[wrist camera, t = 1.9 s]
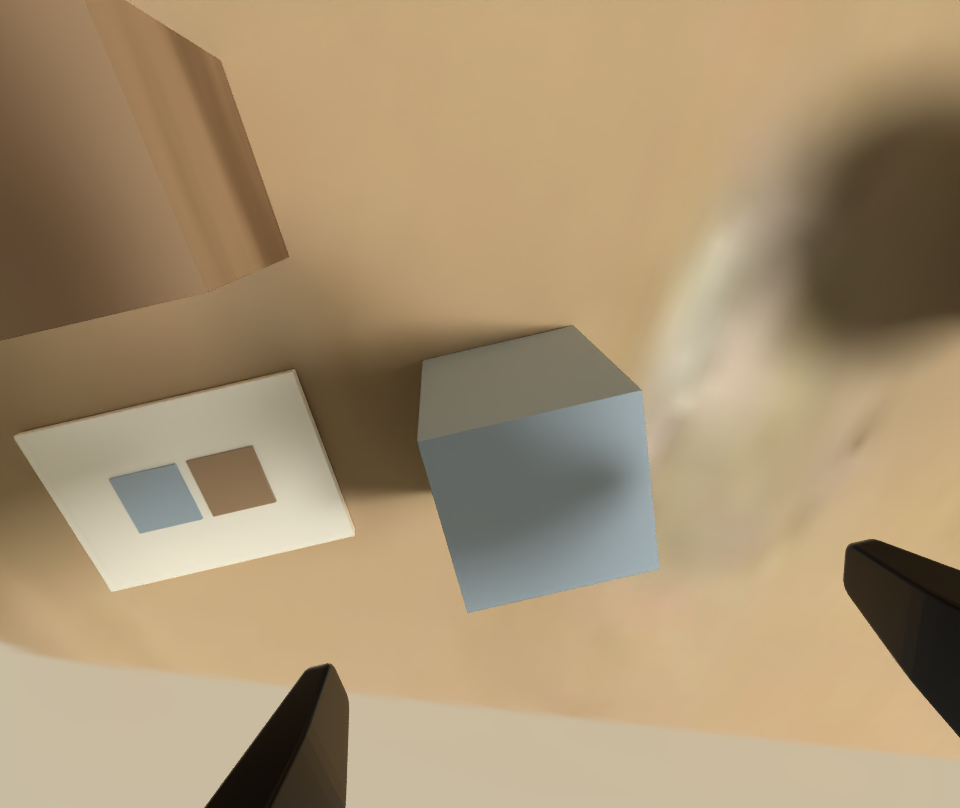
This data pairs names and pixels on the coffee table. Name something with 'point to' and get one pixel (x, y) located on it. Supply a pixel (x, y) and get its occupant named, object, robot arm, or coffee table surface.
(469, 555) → the slate brick
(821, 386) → the coffee table surface
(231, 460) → the page
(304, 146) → the coffee table surface
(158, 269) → the walnut brick
